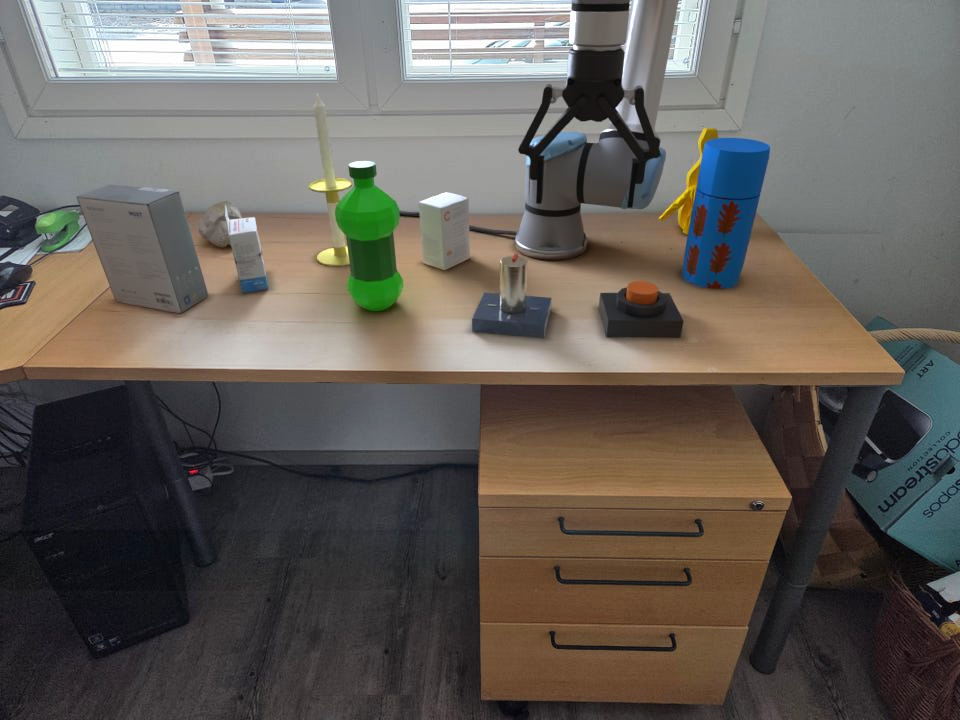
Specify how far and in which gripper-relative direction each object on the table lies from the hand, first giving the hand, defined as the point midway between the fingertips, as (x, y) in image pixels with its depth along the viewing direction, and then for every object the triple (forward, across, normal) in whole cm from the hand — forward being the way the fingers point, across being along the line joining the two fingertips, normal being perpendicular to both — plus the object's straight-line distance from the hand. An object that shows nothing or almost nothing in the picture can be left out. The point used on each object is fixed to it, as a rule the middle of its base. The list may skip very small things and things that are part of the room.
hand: (583, 203), depth 93 cm
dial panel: (+21, +10, +1) cm, 23 cm away
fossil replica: (+21, +78, -26) cm, 85 cm away
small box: (+21, +27, -22) cm, 41 cm away
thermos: (+21, -25, -22) cm, 39 cm away
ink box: (+21, +62, -7) cm, 65 cm away
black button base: (+21, -11, -1) cm, 23 cm away
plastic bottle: (+21, +35, -2) cm, 41 cm away
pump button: (+16, -11, -1) cm, 19 cm away
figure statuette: (+21, -26, -47) cm, 58 cm away
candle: (+21, +50, -22) cm, 58 cm away
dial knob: (+18, +10, +1) cm, 21 cm away
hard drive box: (+21, +76, +2) cm, 78 cm away
